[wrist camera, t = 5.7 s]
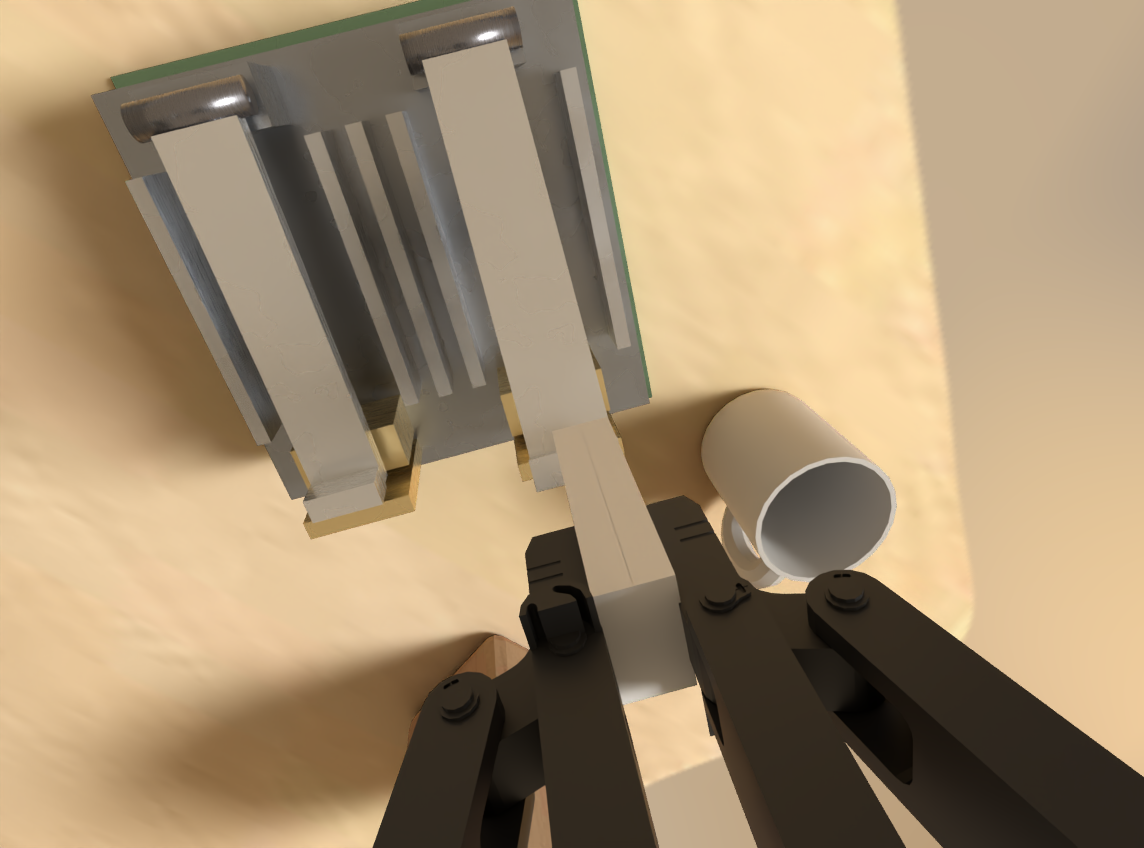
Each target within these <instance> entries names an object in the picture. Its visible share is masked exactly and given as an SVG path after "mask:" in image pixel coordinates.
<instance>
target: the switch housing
mask: <svg viewBox="0 0 1144 848" xmlns="http://www.w3.org/2000/svg"><path fill="white" fill-rule="evenodd" d="M512 6H514V8H515V11H516V14H517V17H518V21H519V26H520V30H521V36H522V42H523V48H520V49H516V50H512V51H510V54H511V58H512V61H513V65H514V69H515V73H516V76H517V80H518V84H519V87H520V91H521V95H522V99H523V102H524V106H525V110H526V114H527V117H528V121H529V125H530V129H531V132H532V136H533V140H534V143H535V147H536V151H537V155H538V158H539V162H540V166H541V170H542V173H543V177H544V181H545V184H546V188H547V192H548V196H549V199H550V203H551V207H552V211H553V214H554V218H555V222H556V226H557V229H558V233H559V237H560V240H561V244H562V248H563V252H564V255H565V259H566V263H567V267H568V270H569V274H570V278H571V281H572V285H573V289H574V293H575V296H576V300H577V304H578V308H579V311H580V315H581V319H582V323H583V326H584V330H585V334H586V337H587V341H588V345H589V349H590V352H591V356H592V360H593V364H594V367H595V371H596V375H597V378H598V382H599V386H600V390H601V393H602V397H603V401H604V405H605V408H606V412H607V416H608V419H609V421H610V424H611V426H612V428H613V431H614V433H615V435H616V437H617V438H618V442H619V445H620V447H621V449H622V452H623V454H625V452H624V448H623V443H622V439H621V436H620V434H619V432H618V429H617V427H616V425H615V423H614V421H613V419H612V417H611V415H610V414H611V413H615V412H619V411H623V410H626V409H630V408H634V407H637V406H641V405H645V404H649V403H650V402H649V398H651V397H652V393H651V388H650V383H649V377H648V372H647V367H646V361H645V356H644V351H643V346H642V340H641V335H640V330H639V324H638V319H637V314H636V309H635V303H634V298H633V293H632V287H631V282H630V277H629V272H628V266H627V261H626V256H625V250H624V245H623V240H622V235H621V229H620V224H619V219H618V213H617V208H616V203H615V198H614V192H613V187H612V182H611V176H610V171H609V166H608V161H607V155H606V150H605V145H604V139H603V134H602V129H601V123H600V118H599V113H598V108H597V102H596V97H595V92H594V86H593V81H592V76H591V71H590V65H589V60H588V55H587V49H586V44H585V39H584V34H583V28H582V23H581V18H580V12H579V7H578V2H577V0H420V1H416V2H412V3H408V4H404V5H400V6H396V7H392V8H388V9H384V10H379V11H375V12H371V13H367V14H363V15H359V16H355V17H351V18H347V19H343V20H339V21H335V22H331V23H327V24H323V25H319V26H315V27H311V28H307V29H303V30H299V31H295V32H291V33H287V34H283V35H279V36H275V37H271V38H267V39H263V40H259V41H255V42H251V43H247V44H243V45H239V46H235V47H231V48H227V49H223V50H219V51H215V52H211V53H206V54H202V55H198V56H194V57H190V58H186V59H182V60H178V61H174V62H170V63H166V64H162V65H158V66H154V67H150V68H146V69H142V70H138V71H134V72H130V73H126V74H122V75H118V76H114V77H111V79H112V82H113V84H114V86H115V88H116V89H114V90H110V91H106V92H102V93H98V94H94V95H91V97H92V99H93V101H94V103H95V105H96V107H97V109H98V111H99V113H100V115H101V117H102V119H103V121H104V123H105V125H106V127H107V129H108V131H109V133H110V135H111V137H112V139H113V141H114V143H115V145H116V147H117V149H118V151H119V153H120V155H121V157H122V159H123V161H124V163H125V165H126V167H127V169H128V171H129V173H130V176H131V178H132V179H131V180H127V181H125V183H126V185H127V187H128V189H129V191H130V193H131V195H132V197H133V199H134V201H135V203H136V205H137V207H138V209H139V211H140V213H141V215H142V217H143V219H144V221H145V223H146V225H147V227H148V229H149V231H150V233H151V235H152V237H153V239H154V241H155V243H156V245H157V247H158V249H159V251H160V253H161V255H162V257H163V259H164V261H165V263H166V265H167V267H168V269H169V271H170V272H171V274H172V276H173V278H174V280H175V282H176V284H177V286H178V288H179V290H180V292H181V294H182V296H183V298H184V300H185V302H186V304H187V306H188V308H189V310H190V312H191V314H192V316H193V318H194V320H195V322H196V324H197V326H198V328H199V330H200V332H201V334H202V336H203V338H204V340H205V342H206V344H207V346H208V348H209V350H210V352H211V354H212V356H213V358H214V360H215V362H216V364H217V366H218V368H219V370H220V372H221V374H222V376H223V378H224V380H225V382H226V384H227V386H228V388H229V390H230V392H231V394H232V396H233V398H234V400H235V402H236V404H237V406H238V408H239V410H240V412H241V414H242V416H243V418H244V420H245V422H246V424H247V426H248V428H249V430H250V432H251V434H252V436H253V438H254V440H255V442H256V444H257V446H259V445H263V444H264V445H265V447H266V449H267V451H268V453H269V455H270V457H271V459H272V461H273V464H274V466H275V468H276V470H277V472H278V474H279V476H280V478H281V480H282V482H283V484H284V486H285V488H286V490H287V492H288V494H289V496H290V498H291V500H293V499H297V498H301V497H304V496H306V494H307V492H308V489H309V487H310V485H311V484H310V482H309V480H308V478H307V475H306V473H305V471H304V469H303V467H302V464H301V462H300V460H299V458H298V456H297V454H296V451H295V449H294V447H293V445H292V443H291V441H290V438H289V436H288V434H287V432H286V430H285V428H284V425H283V423H282V421H281V419H280V417H279V414H278V412H277V410H276V408H275V406H274V404H273V401H272V399H271V397H270V395H269V393H268V391H267V388H266V386H265V384H264V382H263V380H262V378H261V375H260V373H259V371H258V369H257V367H256V364H255V362H254V360H253V358H252V356H251V354H250V351H249V349H248V347H247V345H246V343H245V341H244V338H243V336H242V334H241V332H240V330H239V328H238V325H237V323H236V321H235V319H234V317H233V314H232V312H231V310H230V308H229V306H228V304H227V301H226V299H225V297H224V295H223V293H222V291H221V288H220V286H219V284H218V282H217V280H216V278H215V275H214V273H213V271H212V269H211V267H210V264H209V262H208V260H207V258H206V256H205V254H204V251H203V249H202V247H201V245H200V243H199V241H198V238H197V236H196V234H195V232H194V230H193V228H192V225H191V223H190V221H189V219H188V217H187V214H186V212H185V210H184V208H183V206H182V204H181V201H180V199H179V197H178V195H177V193H176V191H175V188H174V186H173V184H172V182H171V180H170V178H169V175H168V173H167V171H166V169H165V167H164V164H163V162H162V160H161V158H160V156H159V154H158V151H157V149H156V147H155V145H154V143H153V141H151V142H147V143H143V144H142V143H139V142H138V141H136V140H135V139H134V138H133V136H132V135H131V134H130V132H129V131H128V129H127V128H126V126H125V124H124V122H123V119H122V116H121V112H120V107H121V105H122V104H124V103H128V102H132V101H136V100H140V99H144V98H148V97H152V96H156V95H160V94H164V93H168V92H172V91H176V90H180V89H184V88H188V87H192V86H196V85H200V84H204V83H208V82H212V81H216V80H220V79H224V78H228V77H232V76H236V75H240V74H241V75H243V76H244V77H245V79H246V80H247V82H248V83H249V85H250V87H251V89H252V91H253V94H254V96H255V99H256V102H257V105H258V115H254V116H250V117H246V118H245V119H246V121H247V124H248V126H249V129H250V131H251V134H252V136H253V139H254V141H255V144H256V146H257V149H258V151H259V154H260V156H261V159H262V161H263V164H264V166H265V169H266V171H267V174H268V176H269V179H270V181H271V184H272V186H273V189H274V191H275V194H276V196H277V199H278V201H279V204H280V206H281V209H282V211H283V214H284V216H285V219H286V221H287V224H288V226H289V229H290V231H291V234H292V236H293V239H294V241H295V244H296V246H297V249H298V251H299V254H300V256H301V259H302V261H303V264H304V266H305V269H306V271H307V274H308V276H309V279H310V281H311V284H312V286H313V289H314V291H315V294H316V296H317V299H318V301H319V304H320V306H321V309H322V311H323V314H324V316H325V319H326V321H327V324H328V326H329V329H330V331H331V334H332V336H333V339H334V341H335V344H336V346H337V349H338V351H339V354H340V356H341V359H342V361H343V364H344V366H345V369H346V371H347V374H348V376H349V379H350V381H351V384H352V386H353V389H354V391H355V394H356V396H357V399H358V401H359V404H360V406H361V409H362V411H363V414H364V416H365V419H366V421H367V424H368V426H369V429H370V431H371V434H372V436H373V439H374V441H375V444H376V446H377V449H378V451H379V454H380V456H381V459H382V461H383V464H384V466H385V469H386V471H387V478H386V482H385V483H386V486H387V489H386V493H385V497H384V502H383V504H382V505H379V506H375V507H371V508H368V509H364V510H360V511H357V512H353V513H349V514H346V515H342V516H338V517H334V518H331V519H327V520H323V521H320V522H316V523H312V521H311V518H310V516H309V514H308V513H307V515H306V518H305V520H304V523H303V524H304V526H305V529H306V531H307V533H308V535H309V537H310V539H314V538H318V537H321V536H325V535H329V534H332V533H336V532H340V531H343V530H347V529H351V528H354V527H358V526H362V525H365V524H369V523H373V522H377V521H380V520H384V519H388V518H391V517H395V516H399V515H402V514H406V513H410V512H413V511H415V507H416V499H417V491H418V483H419V475H420V468H421V465H423V464H426V463H430V462H434V461H438V460H441V459H445V458H449V457H452V456H456V455H460V454H463V453H467V452H471V451H475V450H478V449H482V448H486V447H489V446H493V445H497V444H500V443H504V442H508V441H512V440H514V443H515V449H516V456H517V463H518V468H519V471H520V474H521V477H522V481H527V480H531V479H533V476H532V472H531V468H530V465H529V458H530V457H529V453H528V450H527V446H526V442H525V439H524V435H523V431H522V428H521V424H520V420H519V416H518V413H517V409H516V405H515V402H514V398H513V394H512V391H511V387H510V383H509V380H508V376H507V372H506V369H505V365H504V361H503V357H502V354H501V350H500V346H499V343H498V339H497V335H496V332H495V328H494V324H493V321H492V317H491V313H490V310H489V306H488V302H487V298H486V295H485V291H484V287H483V284H482V280H481V276H480V273H479V269H478V265H477V262H476V258H475V254H474V251H473V247H472V243H471V240H470V236H469V232H468V228H467V225H466V221H465V217H464V214H463V210H462V206H461V203H460V199H459V195H458V192H457V188H456V184H455V181H454V177H453V173H452V169H451V166H450V162H449V158H448V155H447V151H446V147H445V144H444V140H443V136H442V133H441V129H440V125H439V122H438V118H437V114H436V110H435V107H434V103H433V99H432V96H431V92H430V88H429V85H428V81H427V77H426V74H425V73H421V74H417V75H413V76H411V74H410V72H409V69H408V66H407V63H406V60H405V57H404V54H403V50H402V47H401V43H400V39H399V35H400V34H404V33H408V32H412V31H416V30H420V29H424V28H428V27H432V26H436V25H440V24H444V23H448V22H452V21H456V20H460V19H464V18H468V17H472V16H476V15H480V14H484V13H488V12H492V11H496V10H500V9H504V8H508V7H512Z"/></svg>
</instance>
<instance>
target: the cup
mask: <svg viewBox="0 0 1144 848" xmlns="http://www.w3.org/2000/svg"><path fill="white" fill-rule="evenodd" d="M701 458H702V462H703V467H704V470H705V472H706V474H707V476H708V477H709V479H710V480H711V482H712V484H713V485H714V487H715V488H716V490H717V492H718V493H719V495H720V496H721V498H722V499H723V501H724V502H725V504H726V505H727V507H726V509H725V513H724V516H723V519H722V528H721V538H722V546H723V548H724V550H725V552H726V553H727V555H728V557H729V559H730V560H731V562H732V564H733V566H734V567H735V569H736V571H737V573H738V574H739V576H740V577H741V578H743V579H745V580H748V581H749V582H750V583H751V584H752V585H753V586H754V587H755V588H757V589H761V588H766V587H770V586H774V585H777V584H779V583H780V582H781V581H782V580H783V579H784V578H787V579H790V580H794V581H803V582H810V581H811V580H813V579H814V578H815V577H817V576H818V575H820V574H822V573H826V572H829V571H832V570H851V569H853V568H855V567H857V566H859V565H860V564H861V563H863V562H864V561H865V560H866V559H867V558H868V557H870V556H871V555H872V554H873V553H874V552H875V551H876V550H877V548H878V547H879V546H880V545H881V543H882V542H883V541H884V540H885V538H886V536H887V534H888V532H889V530H890V528H891V526H892V524H893V521H894V517H895V512H896V507H897V504H896V493H895V489H894V487H893V485H892V483H891V480H890V478H889V477H888V476H887V475H886V474H885V473H884V472H883V471H882V470H881V469H880V468H879V467H878V466H877V465H876V464H875V463H874V462H873V461H871V460H870V459H869V458H868V457H867V456H866V455H865V454H863V453H862V452H861V451H860V450H859V449H858V448H856V447H855V446H854V445H853V444H852V443H851V442H850V441H848V440H847V439H846V438H845V437H844V436H843V435H841V434H840V433H839V432H838V431H837V430H836V429H835V428H833V427H832V426H831V425H830V424H829V423H828V422H826V421H825V420H824V419H823V418H822V417H821V416H819V415H818V414H817V413H816V412H815V411H814V410H813V409H811V408H810V407H809V406H808V405H807V404H806V403H804V402H803V401H802V400H800V399H799V398H797V397H795V396H793V395H791V394H789V393H787V392H785V391H779V390H774V389H766V390H755V391H752V392H750V393H747V394H744V395H741V396H739V397H737V398H736V399H734V400H732V401H731V402H729V403H727V404H726V405H725V406H724V407H723V408H722V409H721V410H720V411H719V412H718V413H717V414H716V415H715V416H714V418H713V419H712V421H711V422H710V424H709V425H708V427H707V429H706V432H705V435H704V438H703V440H702V448H701ZM750 542H751V543H752V545H753V546H754V548H755V549H756V551H757V552H758V554H759V555H760V558H758V556H757V555H756V553H755V552H754V550H753V548H752V545H751V543H750Z"/></svg>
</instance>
